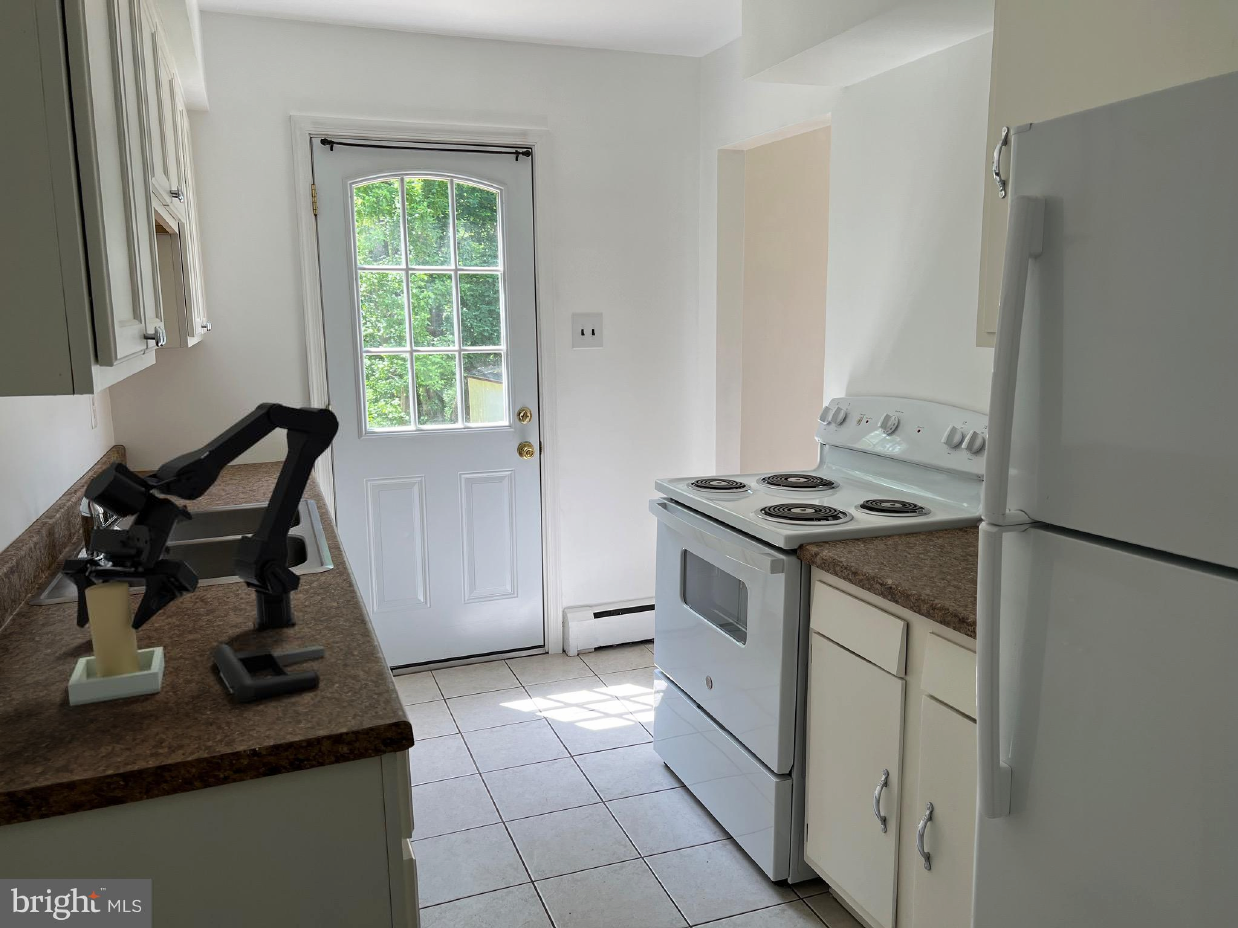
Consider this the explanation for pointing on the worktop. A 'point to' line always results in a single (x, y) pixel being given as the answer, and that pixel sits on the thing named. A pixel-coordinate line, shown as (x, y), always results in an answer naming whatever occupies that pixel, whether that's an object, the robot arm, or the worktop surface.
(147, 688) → the tray
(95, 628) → the tan rounded cylinder
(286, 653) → the door handle
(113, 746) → the worktop surface
